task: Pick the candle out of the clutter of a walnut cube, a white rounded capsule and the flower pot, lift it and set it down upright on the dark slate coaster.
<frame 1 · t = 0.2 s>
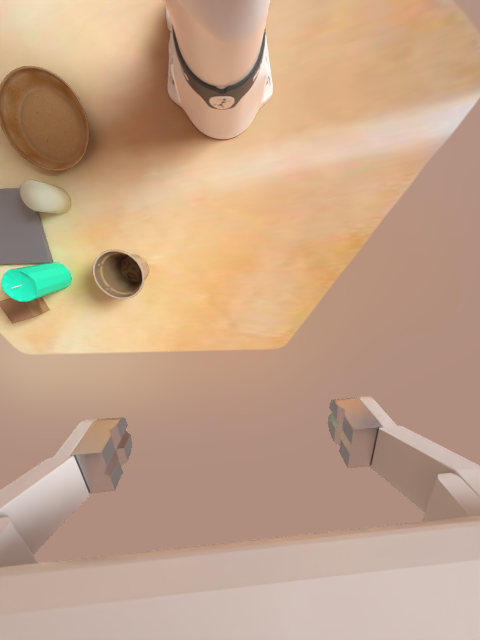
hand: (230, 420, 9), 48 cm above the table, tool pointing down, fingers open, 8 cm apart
flower pot: (134, 268, 53), on the table
candle: (57, 275, 53), on the table
coaster: (7, 228, 49), on the table
white rounded capsule: (57, 200, 47), on the table
plant saucer: (54, 128, 44), on the table
walnut cube: (33, 302, 54), on the table
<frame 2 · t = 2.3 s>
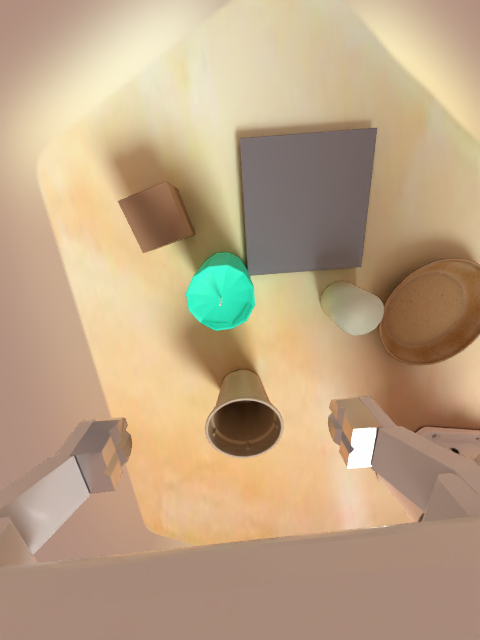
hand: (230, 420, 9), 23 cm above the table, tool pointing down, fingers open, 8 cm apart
flower pot: (241, 384, 37), on the table
candle: (224, 275, 30), on the table
coaster: (304, 209, 28), on the table
white rounded capsule: (338, 299, 32), on the table
plant saucer: (420, 309, 33), on the table
walnut cube: (167, 220, 28), on the table
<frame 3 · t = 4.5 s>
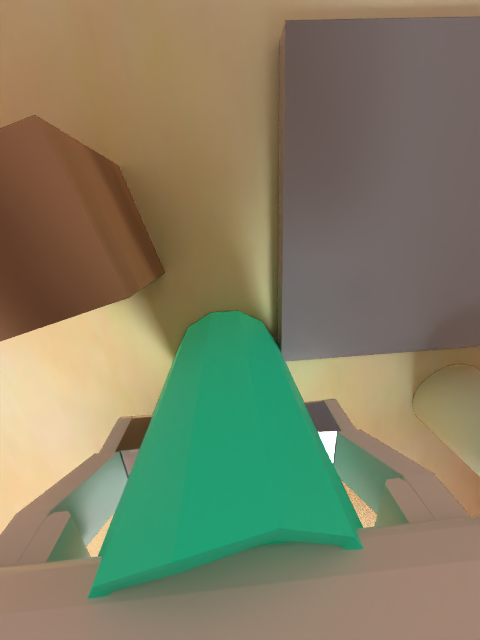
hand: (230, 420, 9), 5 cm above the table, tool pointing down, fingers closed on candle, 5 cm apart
candle: (228, 355, 14), on the table, touching gripper
coaster: (413, 222, 12), on the table
white rounded capsule: (448, 395, 16), on the table
walnut cube: (96, 240, 12), on the table
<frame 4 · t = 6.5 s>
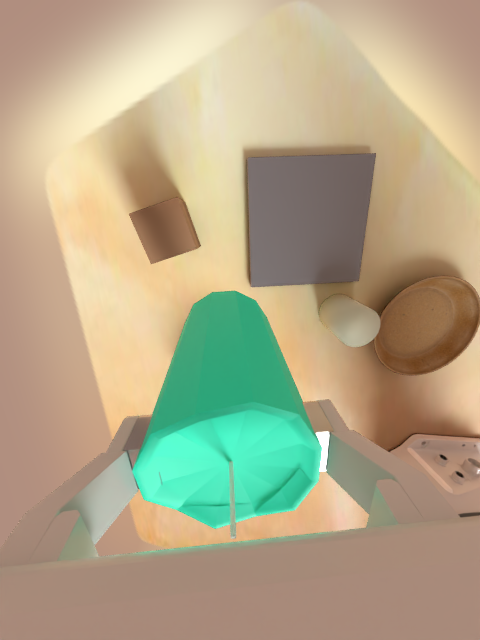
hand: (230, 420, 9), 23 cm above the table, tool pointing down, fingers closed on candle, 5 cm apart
candle: (226, 329, 17), point 15 cm above the table, touching gripper
coaster: (305, 225, 29), on the table
white rounded capsule: (336, 311, 33), on the table
plant saucer: (412, 322, 35), on the table
walnut cube: (173, 231, 28), on the table
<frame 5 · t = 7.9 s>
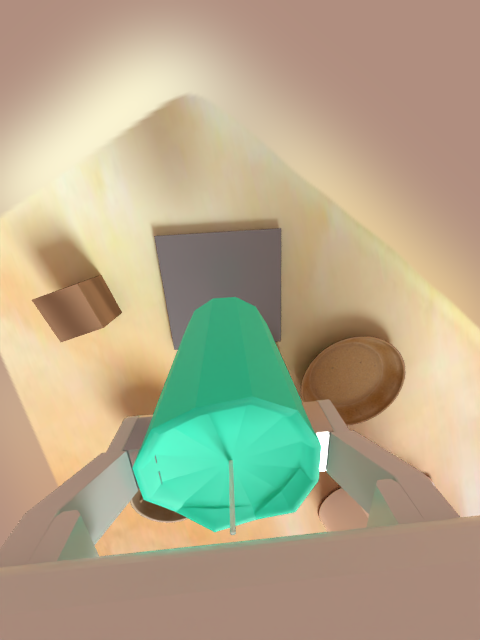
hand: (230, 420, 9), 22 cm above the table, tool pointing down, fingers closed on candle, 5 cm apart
flower pot: (180, 440, 38), on the table
candle: (227, 334, 17), point 13 cm above the table, touching gripper
coaster: (223, 291, 30), on the table
plant saucer: (343, 373, 36), on the table
walnut cube: (93, 300, 29), on the table
when the fingers open (10 cm above the table, at t = 9.7 s): candle stays where it is, resting on coaster.
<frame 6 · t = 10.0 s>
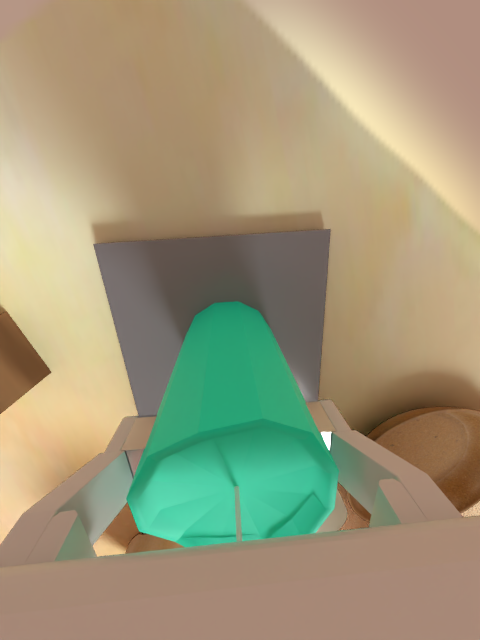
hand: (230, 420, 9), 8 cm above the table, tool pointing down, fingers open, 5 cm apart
flower pot: (159, 542, 26), on the table
candle: (229, 340, 17), point 1 cm above the table, touching coaster, gripper
coaster: (223, 337, 17), on the table
white rounded capsule: (288, 445, 22), on the table
plant saucer: (406, 449, 23), on the table
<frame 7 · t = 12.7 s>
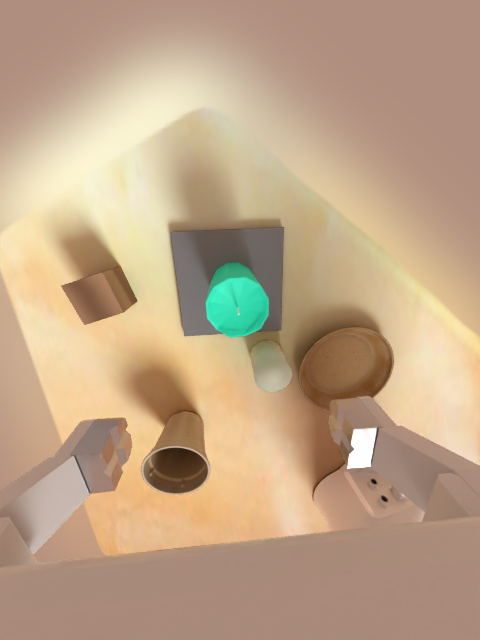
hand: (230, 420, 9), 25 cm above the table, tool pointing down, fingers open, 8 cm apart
flower pot: (185, 423, 41), on the table
candle: (233, 284, 32), point 1 cm above the table, touching coaster
coaster: (230, 283, 33), on the table
white rounded capsule: (266, 354, 37), on the table
plant saucer: (338, 362, 39), on the table
walnut cube: (112, 289, 32), on the table
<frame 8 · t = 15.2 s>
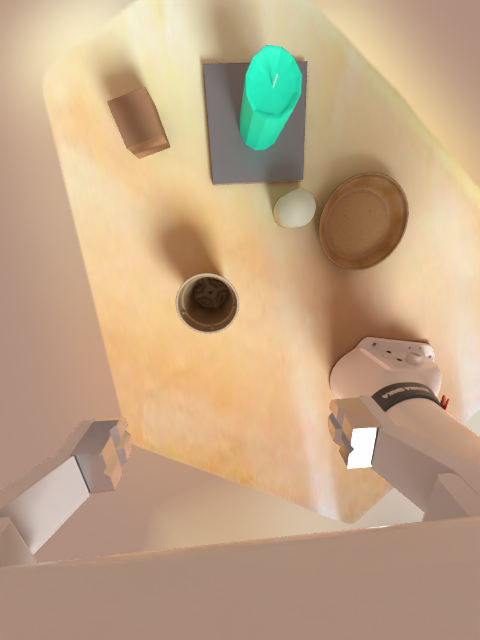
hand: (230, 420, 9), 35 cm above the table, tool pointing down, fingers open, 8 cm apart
flower pot: (210, 290, 43), on the table
candle: (259, 126, 34), point 1 cm above the table, touching coaster
coaster: (256, 129, 35), on the table
white rounded capsule: (287, 211, 39), on the table
plant saucer: (355, 224, 41), on the table
walnut cube: (147, 133, 35), on the table
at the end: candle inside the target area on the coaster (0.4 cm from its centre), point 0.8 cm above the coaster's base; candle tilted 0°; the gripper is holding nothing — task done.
